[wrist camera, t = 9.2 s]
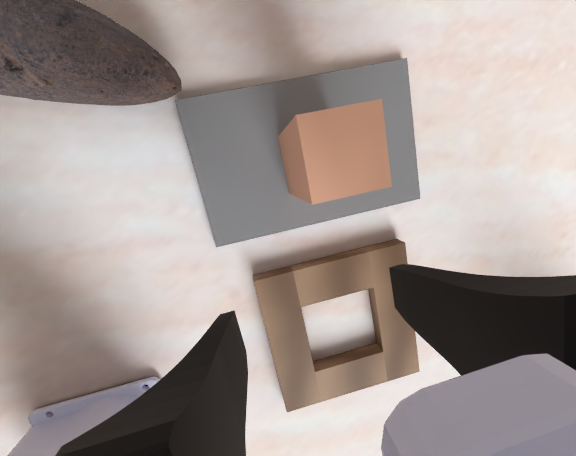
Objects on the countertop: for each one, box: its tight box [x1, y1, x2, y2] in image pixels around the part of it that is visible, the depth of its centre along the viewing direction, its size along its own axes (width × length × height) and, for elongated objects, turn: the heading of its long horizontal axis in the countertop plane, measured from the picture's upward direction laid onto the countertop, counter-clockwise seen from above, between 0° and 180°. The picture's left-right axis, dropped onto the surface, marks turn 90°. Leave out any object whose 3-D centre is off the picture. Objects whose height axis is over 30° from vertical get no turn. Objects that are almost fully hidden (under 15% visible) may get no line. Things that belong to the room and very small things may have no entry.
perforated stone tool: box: [0, 0, 182, 105], centre depth 13 cm, size 15×5×7 cm, turn 78°
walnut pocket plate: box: [253, 239, 419, 412], centre depth 22 cm, size 12×12×1 cm
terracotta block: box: [278, 99, 392, 205], centre depth 16 cm, size 4×4×7 cm
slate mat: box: [175, 58, 420, 247], centre depth 19 cm, size 16×10×1 cm, turn 101°
